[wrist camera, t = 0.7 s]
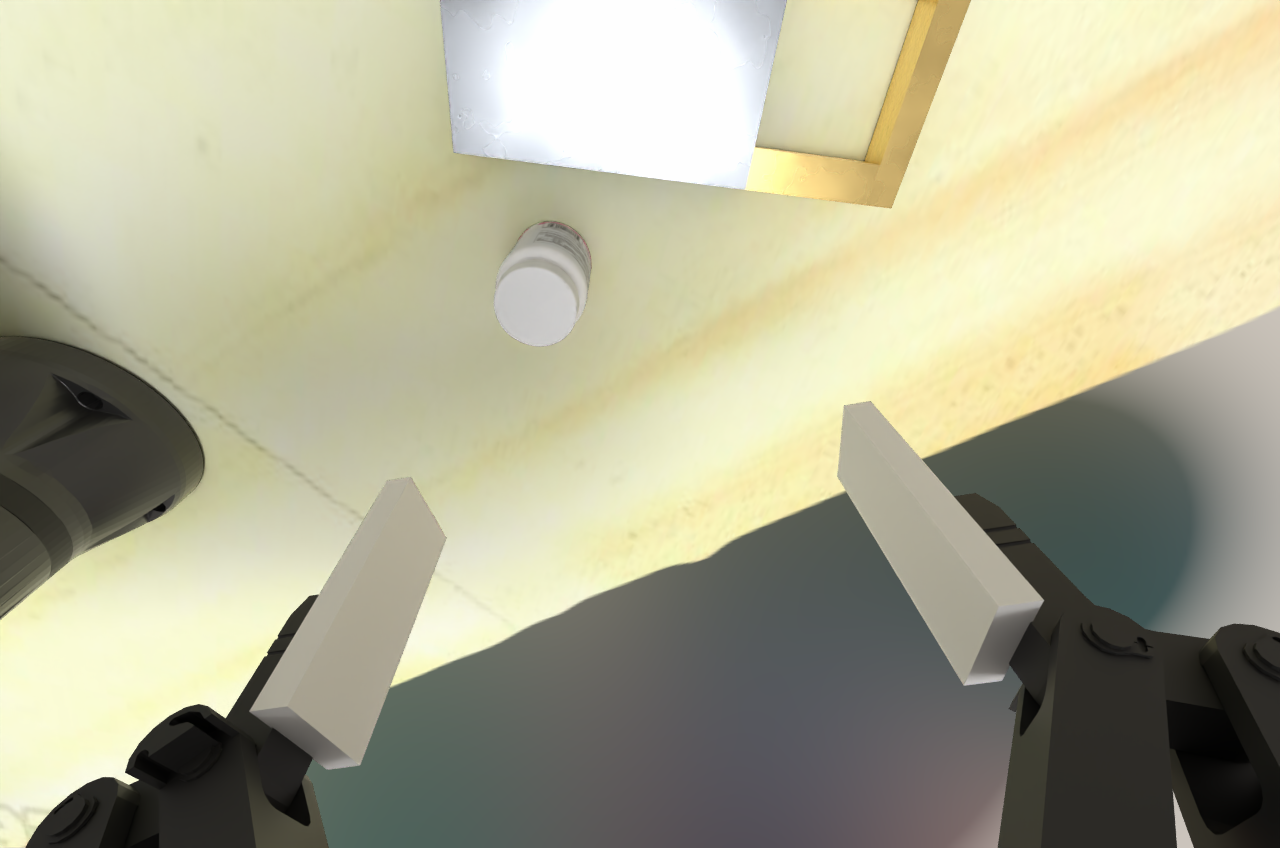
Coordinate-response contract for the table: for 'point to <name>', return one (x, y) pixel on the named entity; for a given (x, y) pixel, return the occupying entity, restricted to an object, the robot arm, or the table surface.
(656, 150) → the flat tray
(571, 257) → the pill bottle
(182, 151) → the table surface
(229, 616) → the table surface
